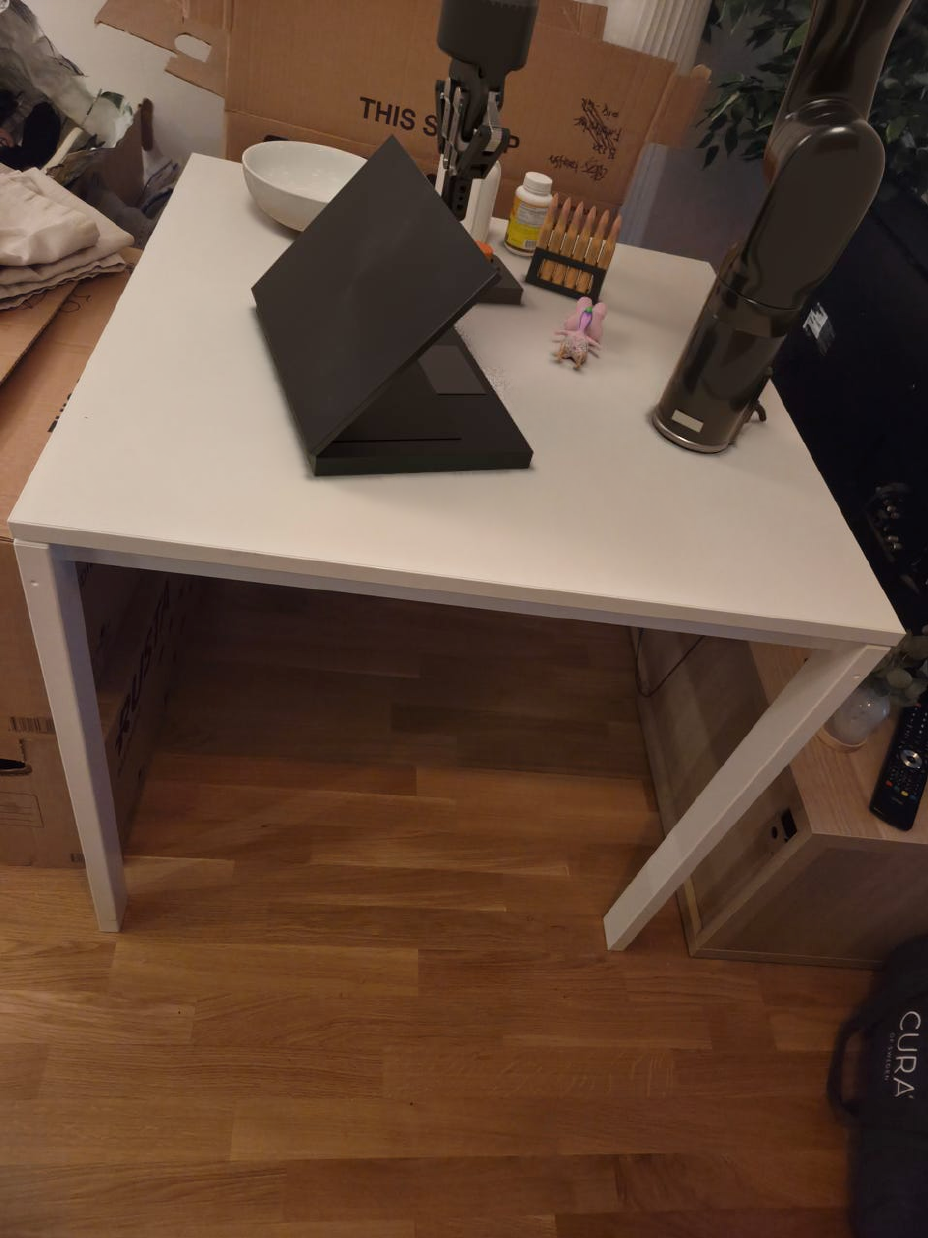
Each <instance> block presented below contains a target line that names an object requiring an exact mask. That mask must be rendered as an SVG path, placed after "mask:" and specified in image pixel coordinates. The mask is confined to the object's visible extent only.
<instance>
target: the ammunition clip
mask: <svg viewBox="0 0 928 1238" xmlns="http://www.w3.org/2000/svg"><path fill="white" fill-rule="evenodd" d="M552 197H553V199H552V200H551V203H550V205H549V208H548V211H547V214H546V216H545V219H544V222H543V224H542V226H541V229H540V233H539V236H538V240H537V243H536V247H535V250H534V254H533V256H531V259H530V260H531V261H530V264H529V266H528V269H527V272H526V276H525V278H524V283H525V284H529V285H531V286H534V287H537V288H541V289H543V290H546V291H549V292H553V293H556V294H557V295H561V296H565V297H567V298H570V299H573V300H576V301H578V300H579V299H580V298H582V297H588V298H590V299H591V301H592V306H593V307H594V306H595V305H596V304H597V303H599V298H600V295H601V292H602V288H603V285H604V282H605V279H606V276H607V273H608V270H609V268H610V265H611V263H612V259H613V256H614V254H615V251H616V244H617V242H618V236H619V234H620V231H621V226H622V222H623V217H622V216H623V215H622V214H621V213H620V214H619V215H617V217H616V218H615V220H614V222H613V224H612V226H611V228H610V231H609V234H607V235H608V236H607V238H606V240H605V242H604V238H605V235H606V231H607V228H608V224H609V217H610V211H609V209H606V210H605V212H603V214H602V216H601V218H600V220H599V222H598V225H597V227H596V230H595V232H594V235H593V237H592V239H591V236H592V231H593V227H594V226H595V225H594V224H595V220H596V213H597V206H596V205H593V206H592V207H591V208H590V210H589V212H588V214H587V216H586V218H585V221H584V224H583V227H582V229H581V232H580V234H579V230H580V227H581V222H582V218H583V213H584V201H580V203H578V205H577V207H576V209H575V211H574V214H573V216H572V219H571V222H570V224H569V227H568V229H567V225H568V220H569V217H570V213H571V207H572V206H571V205H572V200H571V199H572V198H571V196H569V197H567V199H566V200H565V202H564V204H563V205H562V208H561V211H560V213H559V216H558V219H557V222H556V224H555V226H554V223H555V220H556V214H557V210H558V207H559V194H558V192H556V193H555V194H554V195H553V196H552ZM578 235H579V236H578ZM603 243H604V244H603Z"/></svg>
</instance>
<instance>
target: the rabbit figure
mask: <svg viewBox="0 0 928 1238" xmlns="http://www.w3.org/2000/svg"><path fill="white" fill-rule="evenodd" d="M592 306H593V308H592ZM574 309H575V311H574V313H572V314H571V315H570V316H569V317H567V318H566V319H565V320H564V322H563V323H564V328H565V329H556V330H555V331H554V334H555V335H557V336H558V335H564V336H565V337H564V338H563V340H561V344H560V345H559V348H558V353H559V354H558V356H556V358H555V360H558V361H557V363H559V362H560V361H561V362H562V363H563V362H564V360H563V358H564V359H567V358H572V359H573V361H574V362H575V364H574V365H573V367H575V366H577V367H576V371H578V369H582V363H583V362H585V360H586V359H587V357H588V355H589V350H590V345H591V346H594V347H595V348H596V349H597V350H598V351H601V350H602V349H603V347H602V345H601V344H600V343H598V342H597V341H599V340H600V339H601V338H602V337H603V334H604V333H603V328H602V322H603V321H604V320H605V318H606V317H607V315H608V305H607V304H606V303H604V302H597V304H596V305H595V306H594V305H592V301H591V299H590V298H588V297H582V298H580V299H579V300H577V302H576V303H575V306H574Z"/></svg>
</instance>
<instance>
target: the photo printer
mask: <svg viewBox="0 0 928 1238" xmlns="http://www.w3.org/2000/svg"><path fill="white" fill-rule="evenodd" d="M443 155H444V154H440V158H439V163H438V168H437V175H436V179H435V180H436V181H435V187H434V188H435V189H436V191H437V192H438V193H439V195H440V196H441V193H442V187H443V181H444V175H445V171H446V170H447V169H444V168H443ZM501 177H502V167H501V164H500V162H499V161H498V160H497V162H496V163H495V165H494V166H493V168H492V169H491V171H490V172H489V174H488V175H487V177H486V178H485V179H473V182H472V187H471V192H470V197H469V202H468V208H467V213H466V217H465V219H464V220H463V221H460V222H461V224H462V225H463V226H464V228H465V229H466V230H467V232H468V233H469V234H470V236H471V237H472V238H473V239H474V241H480V242H483V243H487V242H486V241H487V239H488V235H489V229H490V225H491V221H492V217H493V211H494V208H495V202H496V198H497V195H498V191H499V186H500V181H501Z"/></svg>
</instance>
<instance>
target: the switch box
mask: <svg viewBox="0 0 928 1238" xmlns="http://www.w3.org/2000/svg"><path fill="white" fill-rule="evenodd" d="M491 263H492V265H493V266H494V267H495V268H496V270H497V271H498V272H499V274H500V275H501V276H502V280H501V281H499V282H498V283H497V284H496V285H495V286H494V287H493V288H492V289H491V290H490V291H489V292H488V293H487V294H486V295H485V296H484V297H483V298H482V299H481V300H480V301H479V302H478V303H477V304H480V303H481V304H495V305H496V304H497V305H514V306H515V305H517V306H520V305H521V300H522V297H523V294H524V287H523V286H522V285H521V284H520V282H519V281H518V280H517V279H516V278H515V276H514V275H513V273H511V271H510V270H509V269H508V267H507V266H506V264H505V263H504V262H503V261H502V259H501V258H500V257H499V256H498V255H496V254H495V253H493V254H492V258H491Z"/></svg>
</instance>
